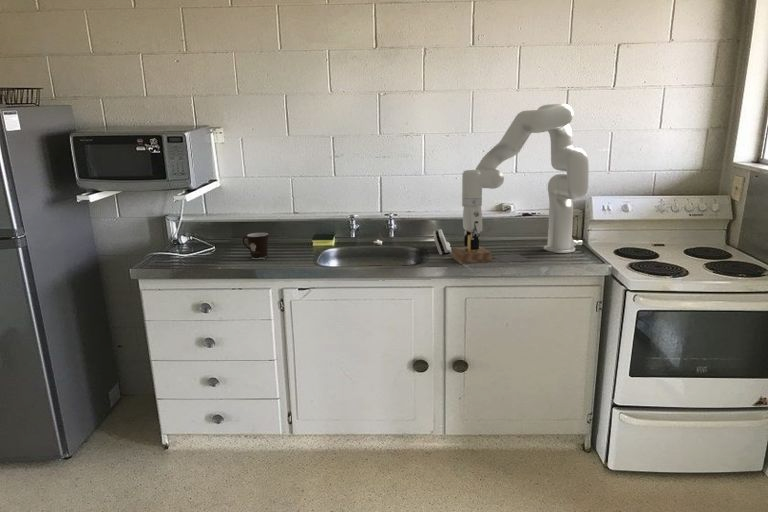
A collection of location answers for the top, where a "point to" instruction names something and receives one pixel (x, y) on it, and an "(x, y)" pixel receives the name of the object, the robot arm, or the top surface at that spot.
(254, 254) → the coffee mug
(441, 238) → the white plastic device case
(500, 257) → the mat
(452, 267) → the top surface
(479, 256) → the hole block
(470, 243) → the peg
